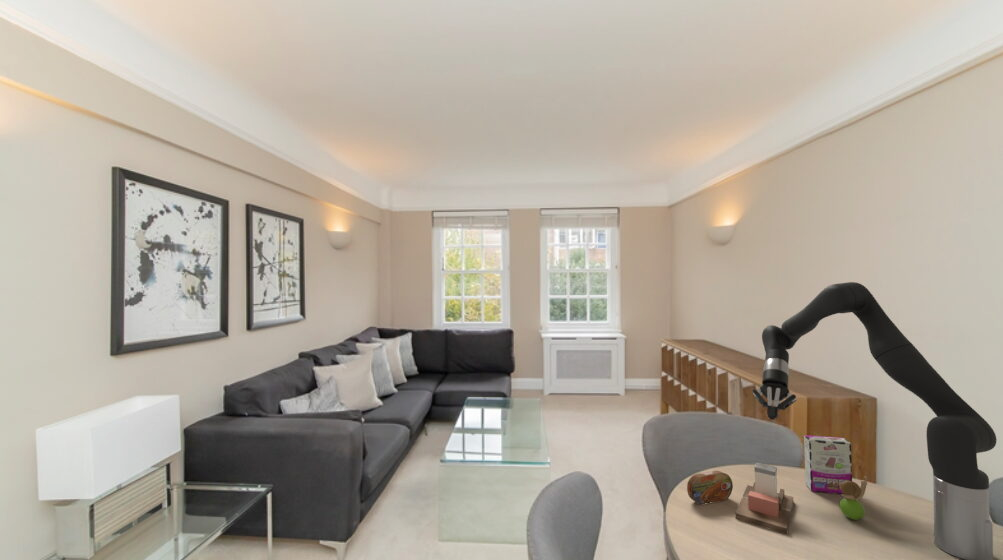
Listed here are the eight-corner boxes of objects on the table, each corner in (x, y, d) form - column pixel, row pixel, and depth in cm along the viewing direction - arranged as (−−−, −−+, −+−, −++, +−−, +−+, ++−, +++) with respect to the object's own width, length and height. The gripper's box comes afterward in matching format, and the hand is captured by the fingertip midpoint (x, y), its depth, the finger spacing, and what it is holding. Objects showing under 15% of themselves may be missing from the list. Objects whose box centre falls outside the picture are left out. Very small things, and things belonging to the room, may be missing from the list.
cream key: (777, 500, 122) (776, 466, 122) (775, 506, 119) (775, 472, 119) (757, 495, 125) (756, 462, 125) (755, 501, 122) (754, 467, 122)
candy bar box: (845, 488, 132) (844, 437, 132) (853, 496, 127) (852, 443, 127) (804, 484, 135) (803, 434, 135) (810, 491, 130) (809, 439, 130)
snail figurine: (874, 525, 112) (873, 481, 113) (847, 522, 114) (846, 479, 114) (861, 514, 118) (860, 472, 118) (835, 511, 119) (834, 470, 119)
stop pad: (778, 512, 117) (778, 498, 117) (777, 517, 114) (777, 503, 114) (750, 504, 121) (749, 490, 121) (748, 509, 119) (748, 495, 119)
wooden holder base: (793, 502, 125) (793, 490, 125) (787, 534, 109) (786, 521, 109) (747, 489, 132) (747, 478, 132) (735, 518, 117) (735, 505, 117)
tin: (692, 507, 123) (692, 478, 123) (685, 501, 126) (684, 474, 126) (733, 499, 127) (733, 471, 127) (725, 494, 130) (725, 467, 130)
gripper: (752, 365, 148) (747, 408, 138) (798, 370, 139) (796, 416, 130) (755, 377, 152) (750, 420, 142) (799, 383, 143) (797, 428, 134)
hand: (772, 418), depth 136 cm, fingers closed
